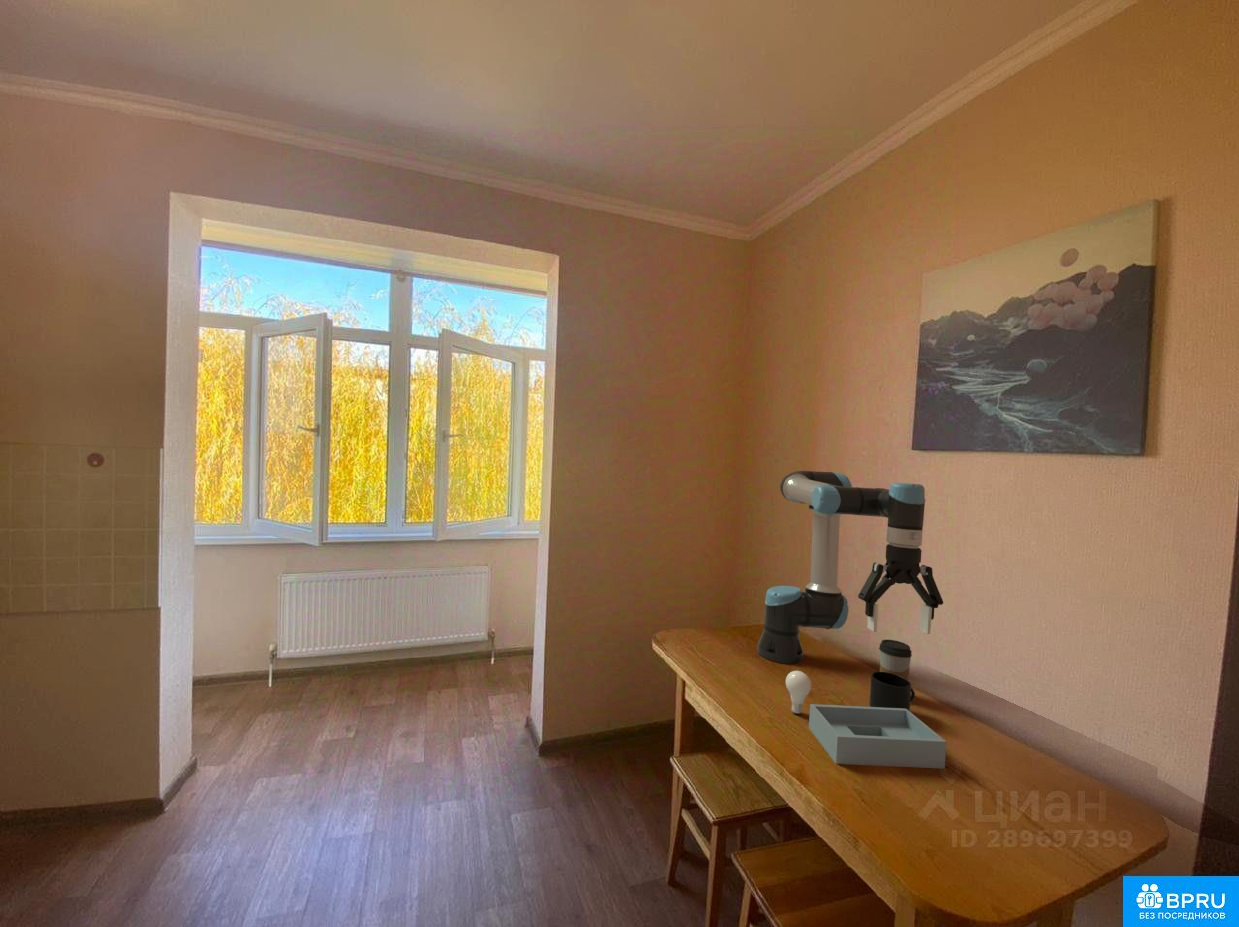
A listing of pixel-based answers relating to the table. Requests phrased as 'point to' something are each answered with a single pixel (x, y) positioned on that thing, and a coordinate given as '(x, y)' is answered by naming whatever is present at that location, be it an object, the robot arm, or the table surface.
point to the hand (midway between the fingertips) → (898, 631)
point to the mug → (890, 691)
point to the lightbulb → (798, 689)
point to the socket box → (876, 736)
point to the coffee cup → (895, 658)
